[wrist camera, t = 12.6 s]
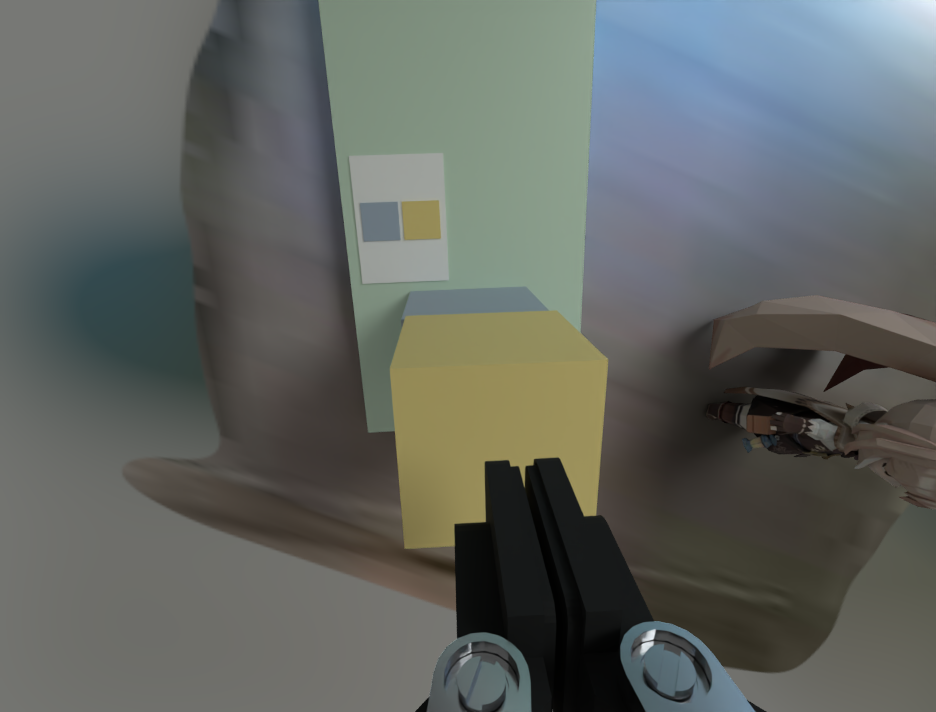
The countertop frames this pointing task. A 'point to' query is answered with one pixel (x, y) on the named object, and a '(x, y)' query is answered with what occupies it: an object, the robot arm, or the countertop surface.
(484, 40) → the board
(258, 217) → the countertop surface
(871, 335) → the toy
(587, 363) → the brick
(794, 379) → the countertop surface
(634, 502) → the countertop surface
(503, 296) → the base brick
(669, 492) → the countertop surface
